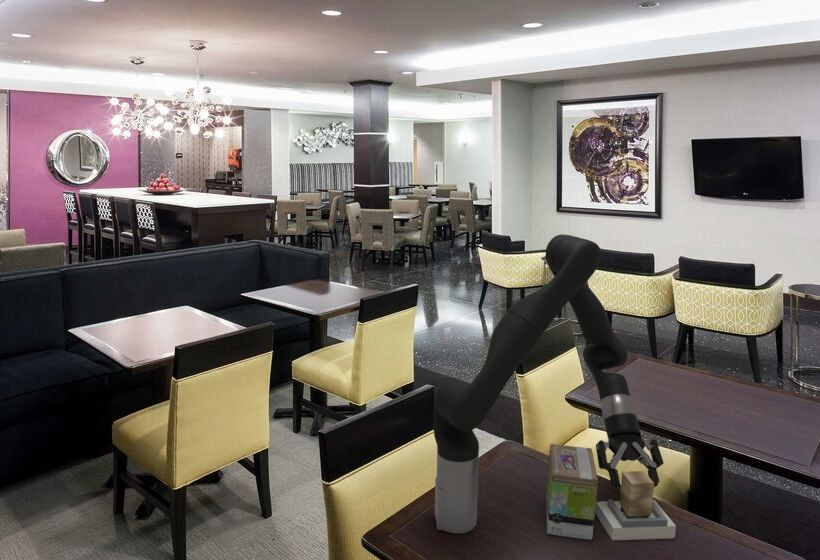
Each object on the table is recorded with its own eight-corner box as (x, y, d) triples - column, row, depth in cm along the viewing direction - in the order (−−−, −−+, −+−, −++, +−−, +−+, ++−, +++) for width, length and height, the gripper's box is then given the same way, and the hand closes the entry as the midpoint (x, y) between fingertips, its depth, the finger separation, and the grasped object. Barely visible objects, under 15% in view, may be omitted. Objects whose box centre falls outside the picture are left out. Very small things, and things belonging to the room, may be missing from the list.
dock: (612, 540, 129) (613, 521, 129) (595, 513, 139) (596, 495, 138) (674, 538, 130) (676, 519, 129) (653, 511, 140) (655, 494, 139)
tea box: (594, 541, 129) (598, 479, 126) (546, 535, 131) (550, 474, 128) (588, 502, 144) (592, 446, 141) (545, 497, 146) (548, 442, 143)
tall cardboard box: (628, 521, 131) (631, 483, 129) (619, 508, 136) (622, 471, 134) (650, 520, 131) (654, 483, 130) (640, 507, 136) (643, 471, 134)
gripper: (595, 412, 139) (610, 483, 130) (654, 411, 140) (674, 481, 131) (586, 423, 145) (600, 492, 136) (643, 422, 146) (660, 490, 137)
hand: (636, 486), depth 133 cm, fingers open, 8 cm apart
